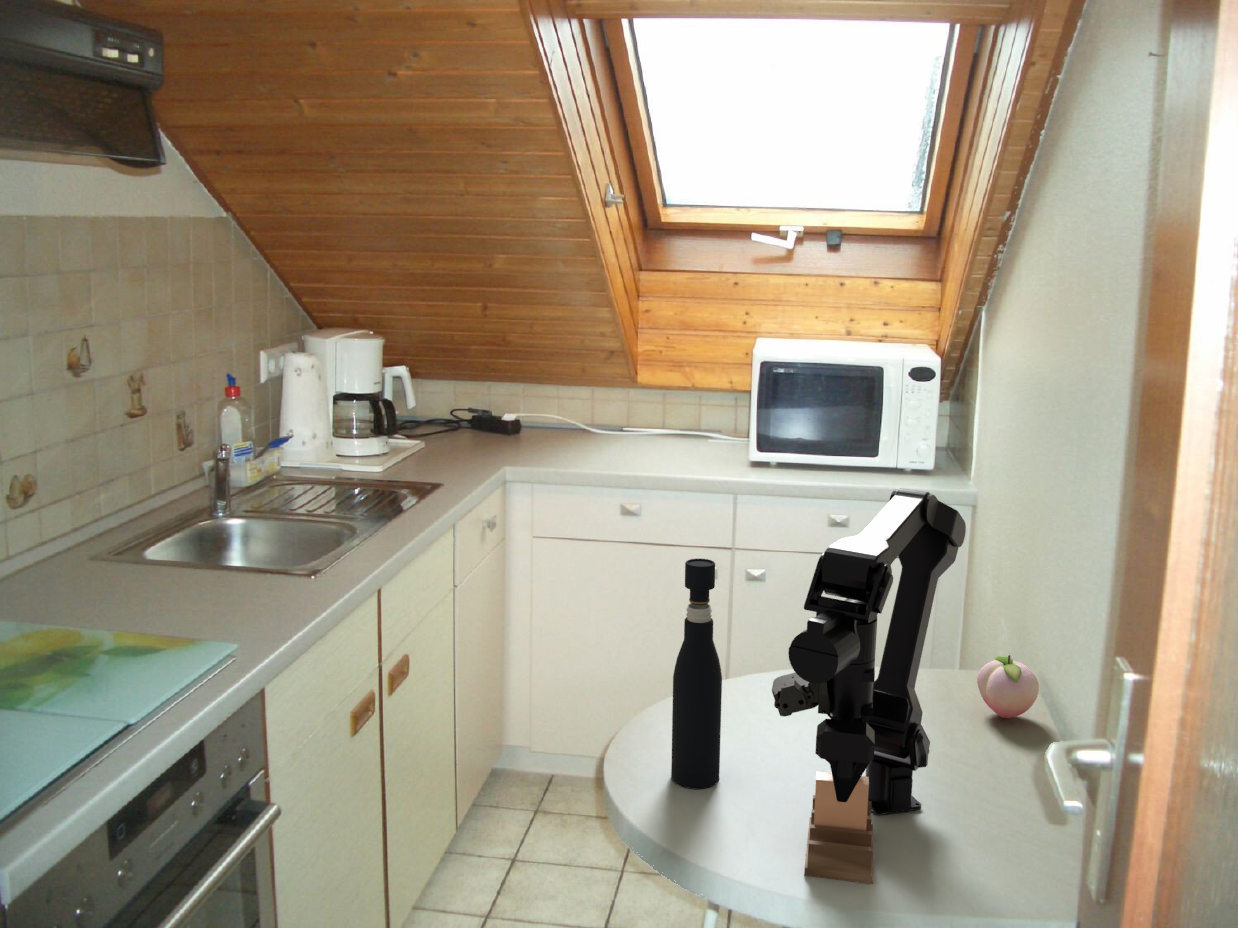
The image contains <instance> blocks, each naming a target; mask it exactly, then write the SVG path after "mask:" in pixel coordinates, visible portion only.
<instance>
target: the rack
mask: <svg viewBox="0 0 1238 928" xmlns="http://www.w3.org/2000/svg"><path fill="white" fill-rule="evenodd" d="M811 808H812V809H811V813H810V817H809V819H808V820H809V821H808V831H807V841H806V852H805V859H804V860H805V863H804V872H803V873H804V875H803V876H806V877H816V878H821V879H822V878H823V879H831V880H838V881H839V880H840V881H845V882H846V881H847V882H855V883H864V884H874V836H873V835H874V828H873V827H874V825H873V824H872V820H873V819H872V810H871V801H868V808H867V825H866V831H865V830H856V829H847V828H838V827H830V826H821V825H814V811H815V795H814V794H813V795H812V807H811Z"/></svg>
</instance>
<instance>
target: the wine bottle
mask: <svg viewBox="0 0 1238 928" xmlns="http://www.w3.org/2000/svg"><path fill="white" fill-rule="evenodd" d="M715 582H716V563H715V561H714V560H711V559H708V558H691V559H688V560H686V561H685V562H684V587H685V588H686V589H687V590H689V599H688V602H690V603H689V604H687V607H686V614H685V615H686V617H685V618H684V622H683V623H684V627H683V629H684V631H683V633H684V634H683V641H682V644H681V646H680V649H679V652H678V654H677V657H676V661H675V665H674V670H673V676H672V711H671V712H672V713H671V716H672V718H671V721H672V723H671V726H672V727H671V770H670V771H671V773H670V774H671V775H670V777H671V779H672V782H674V784H676V785H677V786H680V787H683V788H686V789H694V790H701V789H702V790H703V789H708V788H711V787H713V786H715V785H716V784H717V783H719V780H720V768H721V767H720V763H721V761H720V760H721V732H722V731H721V730H722V729H721V728H722V727H721V725H722V693H723V691H722V690H723V675H722V667H721V662H720V658H719V654H718V652H717V648H716V644H715V641H714V619H713V618H712V616H713V614H712V611H713V609H712V606H711V604H710V591H711V590H714V589H715V586H716V585H715Z"/></svg>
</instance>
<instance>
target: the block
mask: <svg viewBox="0 0 1238 928" xmlns="http://www.w3.org/2000/svg"><path fill="white" fill-rule="evenodd" d="M815 774H816V775H815V793H814V794H815V811H814V825H821V826H830V827H838V828H847V829H856V830H865V831H866V825H867V808H868V790H869V777H866V775H865V776H864V775H862V776H861V778H860V779H859V781H858V783H857V785H856V786H855V788H854V790H853V792H852V794H851V795H850V797H849V799H848V801H847V802H838V801H837V799H836V793H835V788H834V782H833V777H832V772H824V771H816V772H815Z"/></svg>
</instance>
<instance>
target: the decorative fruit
mask: <svg viewBox="0 0 1238 928" xmlns="http://www.w3.org/2000/svg"><path fill="white" fill-rule="evenodd" d="M976 684H977V688H978V690H979V693H980V696H981V698H982V700H983V702H984V703H985V704H986V705H987V707H989V709H991V711H993V712H994V713H995V714H996V715H998V716H999V717H1000V718H1003V719H1010V718H1014V717H1019V716H1021V715H1023V714H1025V713H1026V712H1027V711H1029V709H1031V707H1032V706H1033V705H1035V702H1036V700H1037V699H1038V695H1039V692H1040V691H1039V690H1040V686H1039V681H1038V679H1037V677H1036V675H1035V673H1034V672H1033V671H1032V670H1031V669H1030V668H1029V667H1028V666H1027V665H1025V664H1023V663H1022V662H1019V661H1018V660H1017V661H1016V660H1014V659H1012V658H1011V654H1008V655H1007V656H1005V655H1003V656H1001V655H997V656H995V657H994V660H991V661H989V662H988V663H986V664H984V665H983V666H982V668H981V669H980V670H979V672H978V673H977V676H976Z"/></svg>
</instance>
